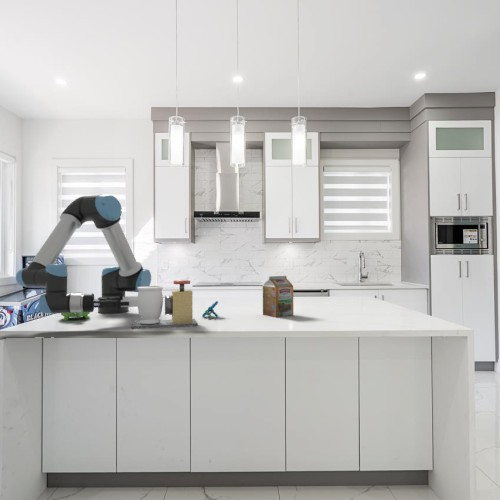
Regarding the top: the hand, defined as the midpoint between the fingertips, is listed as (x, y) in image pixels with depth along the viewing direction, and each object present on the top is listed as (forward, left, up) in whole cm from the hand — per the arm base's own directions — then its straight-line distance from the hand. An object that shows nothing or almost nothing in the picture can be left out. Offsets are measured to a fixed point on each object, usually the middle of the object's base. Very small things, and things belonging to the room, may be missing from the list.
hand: (138, 301), depth 161 cm
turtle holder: (-26, -28, -10) cm, 40 cm away
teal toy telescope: (-15, +32, -10) cm, 37 cm away
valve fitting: (0, +12, -10) cm, 16 cm away
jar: (0, +5, -9) cm, 10 cm away
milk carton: (-13, +65, -10) cm, 67 cm away
